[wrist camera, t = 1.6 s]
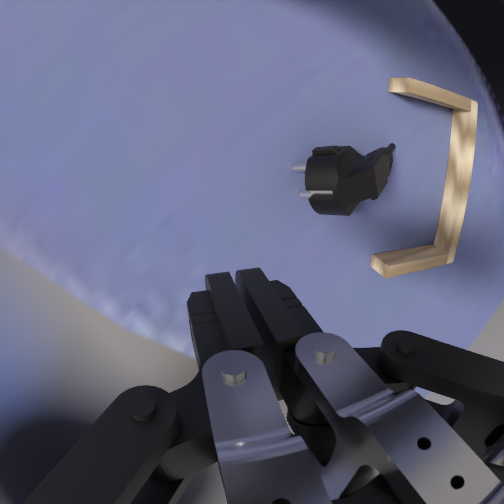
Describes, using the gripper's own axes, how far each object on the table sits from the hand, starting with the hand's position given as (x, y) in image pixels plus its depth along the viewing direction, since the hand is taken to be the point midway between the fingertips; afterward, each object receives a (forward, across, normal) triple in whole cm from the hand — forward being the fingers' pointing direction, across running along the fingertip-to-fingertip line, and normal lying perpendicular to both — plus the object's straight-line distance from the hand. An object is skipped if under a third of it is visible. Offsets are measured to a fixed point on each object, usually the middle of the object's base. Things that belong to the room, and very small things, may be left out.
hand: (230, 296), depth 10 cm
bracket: (+17, -26, 0) cm, 31 cm away
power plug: (+17, -15, -1) cm, 23 cm away
